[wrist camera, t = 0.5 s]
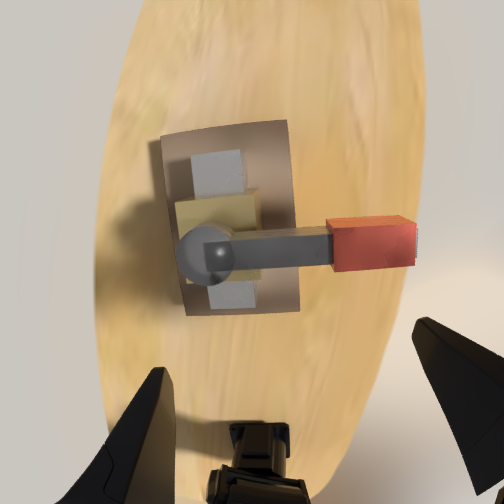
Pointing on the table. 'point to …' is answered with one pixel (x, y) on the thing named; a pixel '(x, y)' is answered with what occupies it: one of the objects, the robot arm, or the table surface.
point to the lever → (297, 247)
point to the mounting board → (259, 176)
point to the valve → (224, 217)
